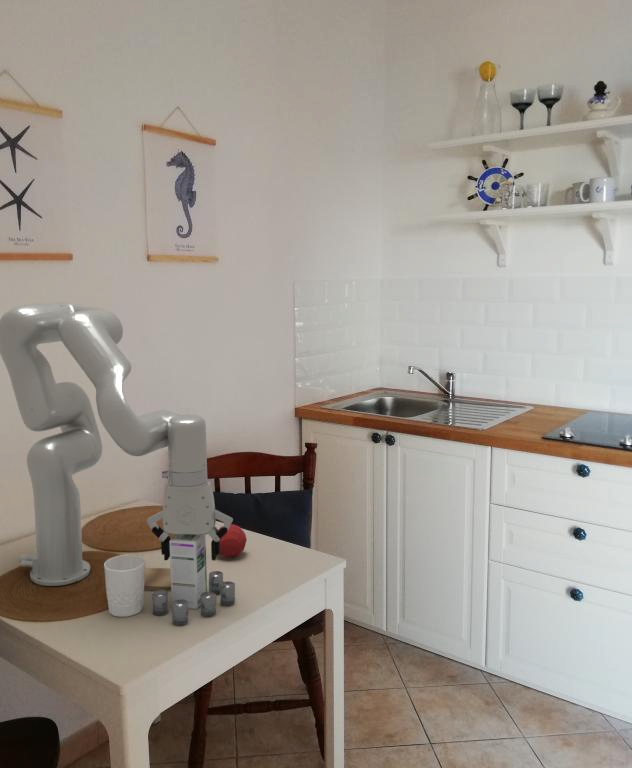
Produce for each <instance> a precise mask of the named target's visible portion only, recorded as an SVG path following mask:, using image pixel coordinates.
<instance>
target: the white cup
mask: <svg viewBox="0 0 632 768" xmlns="http://www.w3.org/2000/svg"><path fill="white" fill-rule="evenodd" d="M103 567H104V580H105V592H106V599H107V605H108V613H109V614H111V615H112V616H114V617H119V618H123V617H126V618H127V617H132V616H135V615H137V614H138V613H141V612H142V610H143V608H144V595H145V590H144V582H145V568H146V559H145V558H144V557H143V556H140V555H137V554H121V555H115V556H113V557H110V558H108V559H107V560H105V562H104V563H103Z"/></svg>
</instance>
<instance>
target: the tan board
mask: <svg viewBox="0 0 632 768" xmlns="http://www.w3.org/2000/svg"><path fill="white" fill-rule="evenodd" d="M158 590H165V591H167V592H171V571H170V568H167V567H166V568H163V567H160V568H159V567H145V582H144V591H153V592H155V591H158Z"/></svg>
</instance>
